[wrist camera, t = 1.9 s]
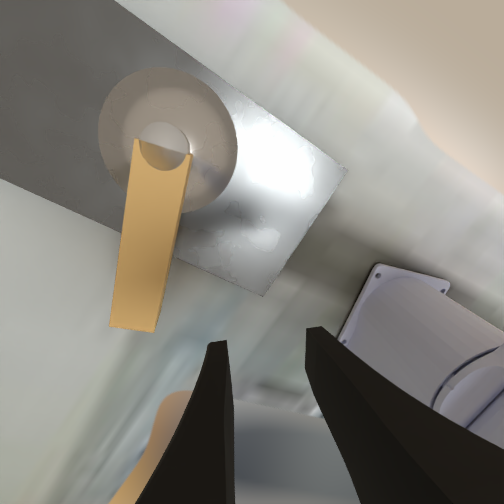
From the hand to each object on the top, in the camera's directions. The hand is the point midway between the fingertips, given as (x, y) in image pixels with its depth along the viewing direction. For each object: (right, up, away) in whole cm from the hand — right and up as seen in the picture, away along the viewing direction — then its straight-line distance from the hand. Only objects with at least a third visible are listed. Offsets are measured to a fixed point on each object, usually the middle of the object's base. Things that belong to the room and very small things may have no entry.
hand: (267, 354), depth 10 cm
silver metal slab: (-6, +10, +7) cm, 13 cm away
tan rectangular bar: (-6, +5, +5) cm, 9 cm away
